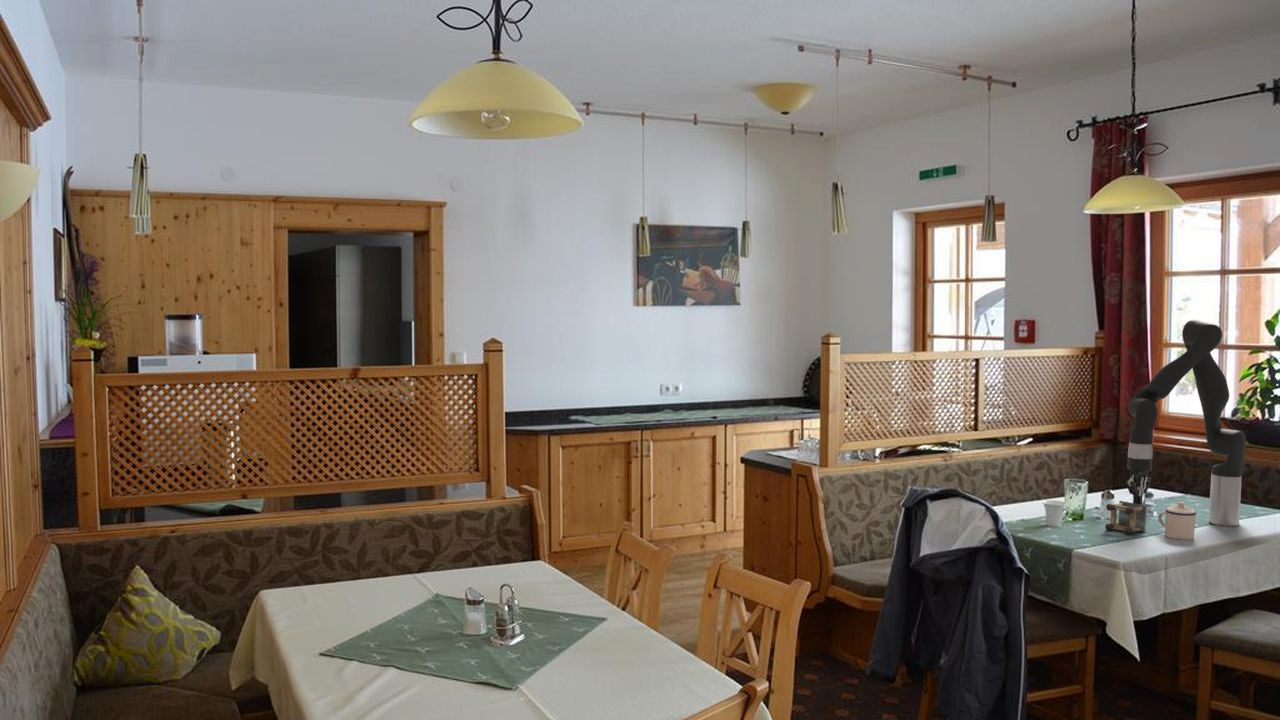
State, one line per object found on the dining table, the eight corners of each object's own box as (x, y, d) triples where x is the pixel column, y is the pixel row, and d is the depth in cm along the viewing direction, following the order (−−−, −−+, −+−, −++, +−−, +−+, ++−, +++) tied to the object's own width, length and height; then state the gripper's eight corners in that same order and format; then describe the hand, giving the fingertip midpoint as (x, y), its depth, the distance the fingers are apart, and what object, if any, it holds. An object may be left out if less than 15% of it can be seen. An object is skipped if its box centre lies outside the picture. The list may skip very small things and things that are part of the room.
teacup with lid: (1200, 538, 338) (1202, 503, 337) (1184, 541, 333) (1186, 506, 332) (1165, 530, 348) (1167, 496, 347) (1150, 533, 343) (1151, 499, 343)
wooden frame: (1119, 526, 354) (1121, 500, 353) (1145, 531, 346) (1146, 505, 346) (1105, 529, 348) (1106, 503, 348) (1130, 535, 341) (1131, 508, 340)
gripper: (1139, 453, 357) (1137, 502, 358) (1118, 456, 349) (1116, 506, 350) (1161, 456, 350) (1158, 506, 352) (1140, 459, 343) (1137, 510, 344)
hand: (1137, 506), depth 351 cm, fingers closed
